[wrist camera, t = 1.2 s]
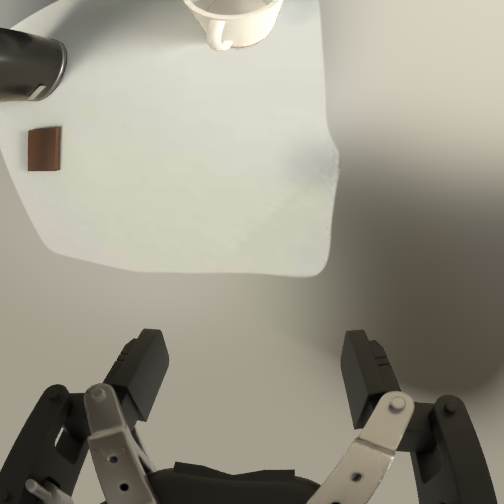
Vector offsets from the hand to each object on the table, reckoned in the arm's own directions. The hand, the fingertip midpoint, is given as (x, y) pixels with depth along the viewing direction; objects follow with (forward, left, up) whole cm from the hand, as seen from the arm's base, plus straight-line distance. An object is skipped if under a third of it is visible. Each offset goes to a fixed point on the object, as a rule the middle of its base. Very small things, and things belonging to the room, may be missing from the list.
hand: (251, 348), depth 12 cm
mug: (-5, +21, -24) cm, 32 cm away
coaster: (-30, +5, -24) cm, 38 cm away
